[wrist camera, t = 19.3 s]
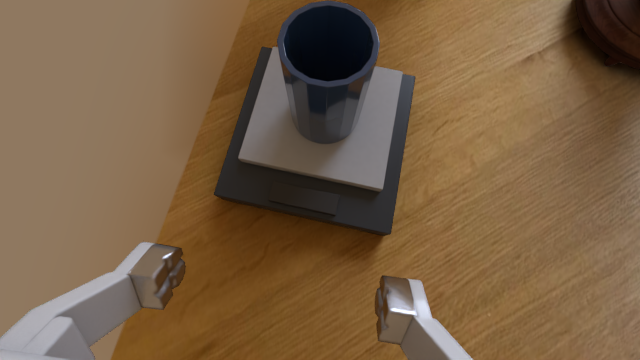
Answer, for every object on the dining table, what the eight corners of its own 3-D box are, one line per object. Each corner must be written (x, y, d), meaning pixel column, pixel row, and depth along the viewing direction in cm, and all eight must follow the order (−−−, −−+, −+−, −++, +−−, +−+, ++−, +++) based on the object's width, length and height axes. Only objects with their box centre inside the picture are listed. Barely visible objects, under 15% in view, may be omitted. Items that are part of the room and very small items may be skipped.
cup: (284, 136, 25) (265, 75, 16) (300, 77, 27) (291, -7, 18) (351, 150, 25) (369, 95, 16) (364, 90, 26) (386, 10, 18)
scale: (222, 199, 27) (208, 192, 24) (265, 61, 31) (259, 39, 28) (384, 236, 26) (393, 233, 23) (408, 89, 30) (419, 69, 27)
